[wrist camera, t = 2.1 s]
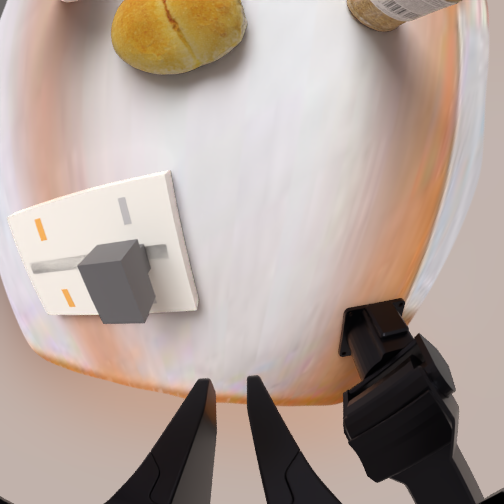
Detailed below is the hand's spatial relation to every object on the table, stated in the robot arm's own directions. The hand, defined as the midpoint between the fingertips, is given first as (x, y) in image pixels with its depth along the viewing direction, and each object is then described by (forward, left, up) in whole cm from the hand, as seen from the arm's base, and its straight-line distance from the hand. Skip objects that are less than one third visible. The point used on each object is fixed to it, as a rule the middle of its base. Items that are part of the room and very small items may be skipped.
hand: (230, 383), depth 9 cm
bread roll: (+16, +2, -14) cm, 21 cm away
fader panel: (0, +12, -13) cm, 18 cm away
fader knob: (0, +8, -11) cm, 13 cm away
